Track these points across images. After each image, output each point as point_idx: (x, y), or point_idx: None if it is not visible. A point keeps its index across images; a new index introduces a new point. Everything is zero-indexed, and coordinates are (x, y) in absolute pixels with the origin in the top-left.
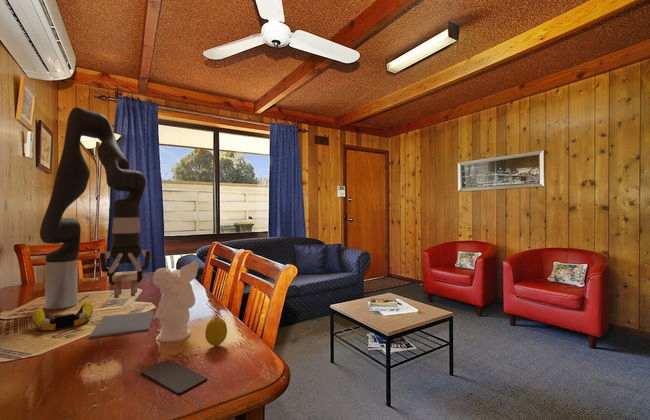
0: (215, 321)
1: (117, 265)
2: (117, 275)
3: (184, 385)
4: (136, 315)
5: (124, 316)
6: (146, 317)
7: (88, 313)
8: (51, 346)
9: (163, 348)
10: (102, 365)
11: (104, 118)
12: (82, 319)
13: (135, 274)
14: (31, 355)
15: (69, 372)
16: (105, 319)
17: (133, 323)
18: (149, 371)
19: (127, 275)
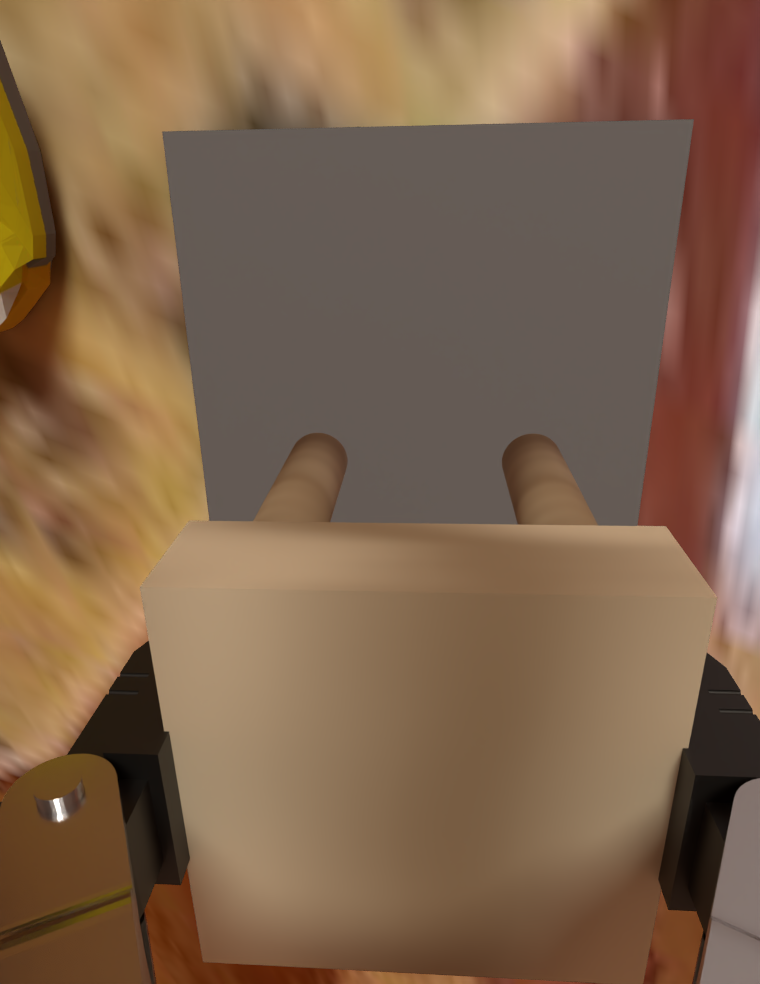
0: None
1: (137, 923)
2: (289, 953)
3: None
4: (501, 244)
5: (382, 226)
6: (601, 360)
7: (14, 213)
8: (55, 681)
9: (679, 928)
10: (409, 975)
11: None
12: (20, 306)
13: (622, 979)
14: (19, 763)
15: (292, 980)
16: (216, 260)
17: (494, 497)
18: None
19: (471, 961)
